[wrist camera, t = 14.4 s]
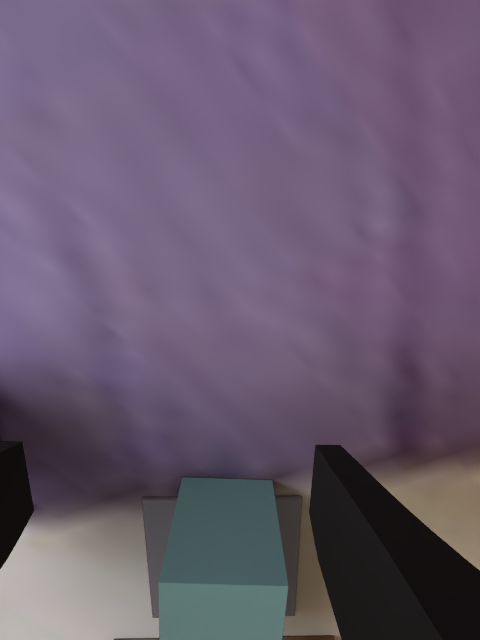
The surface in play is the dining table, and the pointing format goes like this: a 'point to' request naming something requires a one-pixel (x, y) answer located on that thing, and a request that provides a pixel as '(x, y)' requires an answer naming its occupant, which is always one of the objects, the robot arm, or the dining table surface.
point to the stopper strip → (284, 639)
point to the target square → (158, 530)
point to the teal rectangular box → (223, 563)
